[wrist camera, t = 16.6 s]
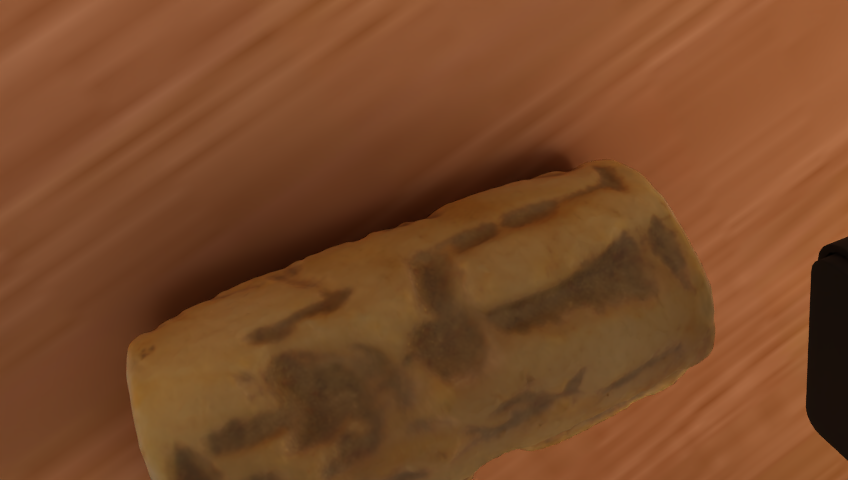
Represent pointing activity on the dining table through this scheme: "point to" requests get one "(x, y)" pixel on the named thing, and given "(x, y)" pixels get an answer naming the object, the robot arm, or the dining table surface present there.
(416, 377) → the tan cylinder with hole
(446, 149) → the dining table surface
